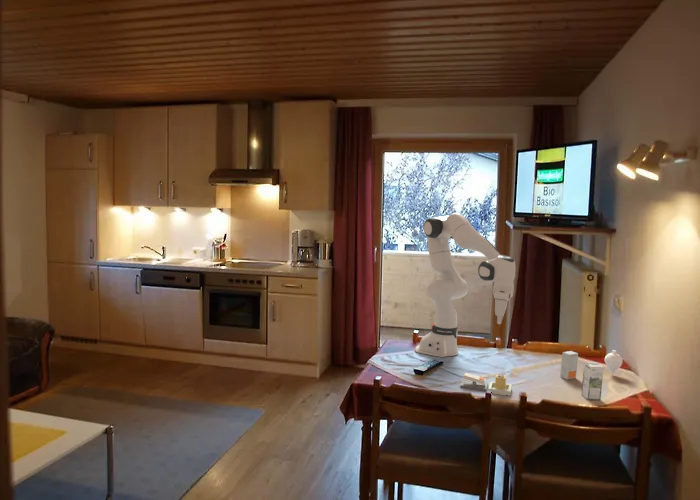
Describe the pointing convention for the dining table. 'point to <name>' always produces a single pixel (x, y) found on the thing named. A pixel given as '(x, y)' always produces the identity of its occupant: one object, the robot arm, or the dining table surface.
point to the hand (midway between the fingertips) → (500, 321)
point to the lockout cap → (500, 381)
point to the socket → (500, 391)
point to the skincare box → (569, 365)
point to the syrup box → (592, 381)
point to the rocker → (474, 378)
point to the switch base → (473, 385)
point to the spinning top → (613, 361)
